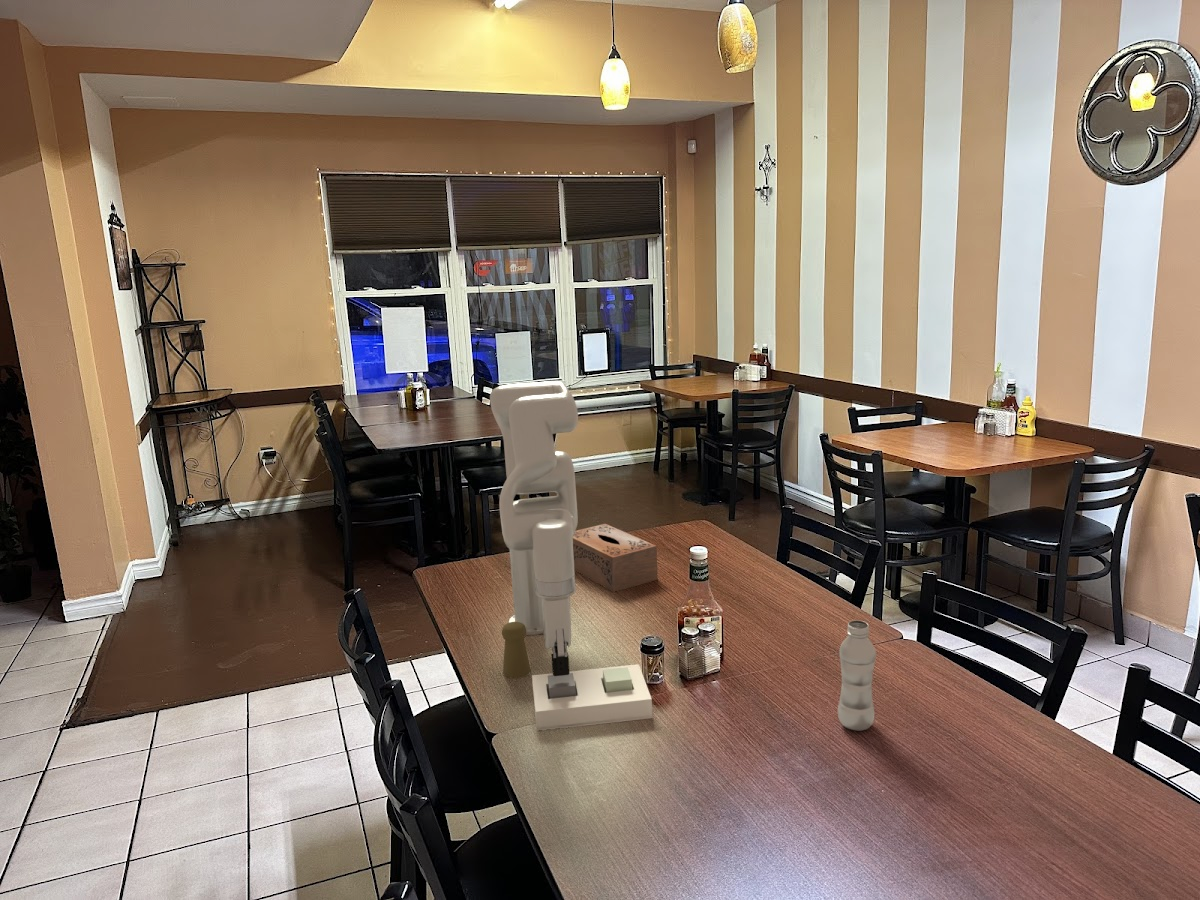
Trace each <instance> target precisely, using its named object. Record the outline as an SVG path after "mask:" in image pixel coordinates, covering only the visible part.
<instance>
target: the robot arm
mask: <svg viewBox="0 0 1200 900" xmlns="http://www.w3.org/2000/svg"><path fill="white" fill-rule="evenodd" d="M489 403H490V409H491V412H492V414H493V416H494V420H495V421H496V424H497V425H498V428H499V429H500V432H501V435H502V439H503V448H504V460H505V462H504V463H505V472H506V473H505V474H506V480H505V481H504V483H503V486H502V488H501V491H500V494H499V502H498V503H499V515H500V523H501V524H500V525H501V531H502V532H501V533H502V536H503V537H502V538H503V541H504V544H505V546H506V547H507V548H508V551H509V557H510V558H509V560H510V572H511V573H510V574H511V584H512V598H513V599H512V601H513V614H514V615H512V616H511V617H510V618H509V620H508V623H510V622H520V623H523V624H524V625H525V627H526V636H527V635H530V636H531V635H532V636H537V635H541V634H542V635H543V639H544V640H543V641H544V647H545V648H546V649H547V650H550V649H551V651H552V653H550V654H551V670H552V673H553V676H562V675H569V671H570V657H569V653H568V648H570V646H572V614H571V612H572V611H571V598H570V597H571V596H573V595H574V594H575V593H576V592H577V591H576V590H577V589H576V574H575V572H576V571H575V570H574V554H573V536H574V535H575V531H577V527H578V501H577V490H576V489H577V488H576V485H577V484H576V474H575V467H574V463H573V460H572V458H571V455H570V454H568V452H566V451H563V450H562V451H561V450H556V447H555V442H554V436H553V435H555V434H566V433H573V431H575V430H576V429H577V426H578V422H579V413H578V412H579V411H578V407H577V403H576V401H575V399H574V396H573V395H572V393H571V391H570V390H569V389H568V386H567V385H566V384H565V383H564V382H562V381H559V380H555V381H554V380H551V381H539V382H520V383H511V384H510V383H509V384H504V385H499V386H497V387H495V388H493V389H492V390H491V392H490V395H489ZM540 493H541V494H543V493H556V495H554V496H542V497H539V496H538V497H532V498H531V497H530V498H521V499H518V500H514V499H515V497H516V495H531V494H533V495H534V494H540Z"/></svg>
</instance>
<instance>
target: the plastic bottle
mask: <svg viewBox="0 0 1200 900" xmlns="http://www.w3.org/2000/svg"><path fill="white" fill-rule="evenodd" d="M846 633H847V637H846V638H845V639H844V640H843V641H842V643H841V644H840V647H839V653H838V654H839V660H840V661H839V662H840V670H841V672H840V673H841V688H840V697H839V701H838V706H837V716H838V720H839V722H840V723H841V725H842V726H843V727H845V728H846V729H848V730H851V731H857V732H858V731H859V732H861V731H865V730H868V729H869V728H870V727H871V726H872V725H873V723H874V719H875V715H876V714H875V708H874V702H873V689H872V688H873V687H872V685H873V675H874V669H875V664H876V658H877V651H876V648H875V646H874V644H873V642H872V641H871V640H870V638H869V636H870V625H869V623H868V622H866V621H863V620H860V619H854V620H850V621H849V622H848V623H847V630H846Z"/></svg>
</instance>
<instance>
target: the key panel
mask: <svg viewBox="0 0 1200 900" xmlns="http://www.w3.org/2000/svg"><path fill="white" fill-rule="evenodd" d="M625 667H628V670H629V673H630V676H631V679H632V690H626V691H617V692H608V693H606V691H605V688H604V684H603V670H606V669H615V668H625ZM569 673H573V677H574V681H575V689H576V696H571V697H562V698H553V699H550V697H549V689H548V675H553V672H552V673H551V672H550V673H543V674H534V675H533V674H532V675H531V680H532V681H531V682H532V695H533V703H534V704H533V706H534V714H535V715H534V716H535V726H536V731H537V732H539V731H538V730H542V731H547V730H546V729H551V730H556V729H555V728H560V729H566V728H567V729H568V727H569V728H574V727H575V728H577V727H585V726H594V725H603V724H610V723H611V724H612V723H621V722H629V721H637V720H647V719H653V699H652V696H651V693H650V691H649V688H648V685H647V683H646V680H645V677H644V674H643V672H642V670H641V667H640V664H639V663H638V664H630V665H620V666H609V667H600V668H590V669H580V670H572V671H571V670H569Z"/></svg>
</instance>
